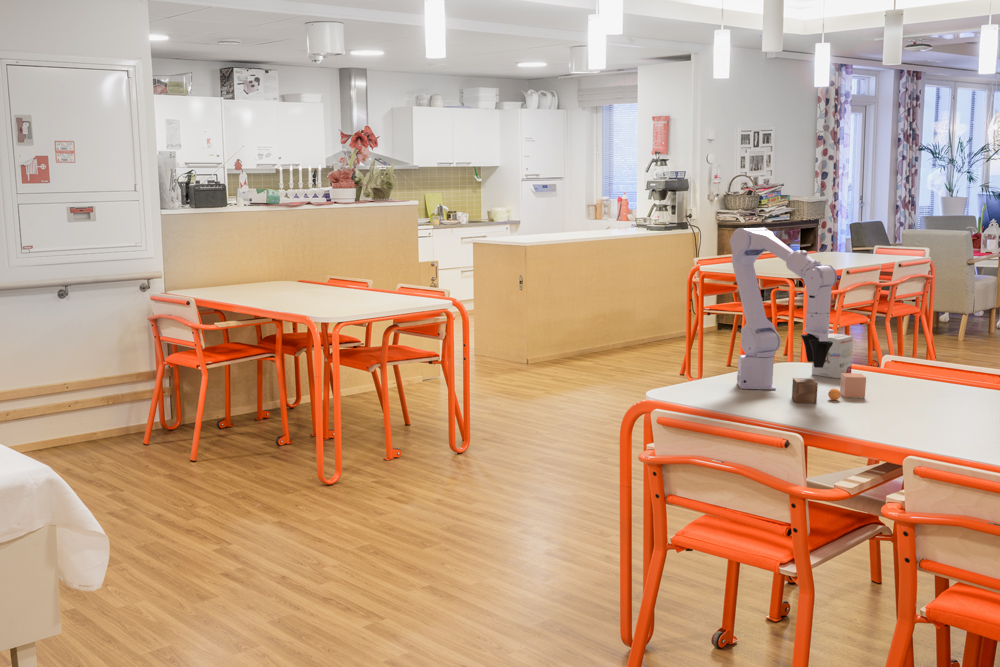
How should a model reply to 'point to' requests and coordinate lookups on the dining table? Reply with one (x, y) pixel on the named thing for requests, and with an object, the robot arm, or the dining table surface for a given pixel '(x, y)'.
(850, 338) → the ink box
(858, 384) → the salmon pink block
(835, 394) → the orange ball
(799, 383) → the brown block
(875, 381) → the dining table surface
